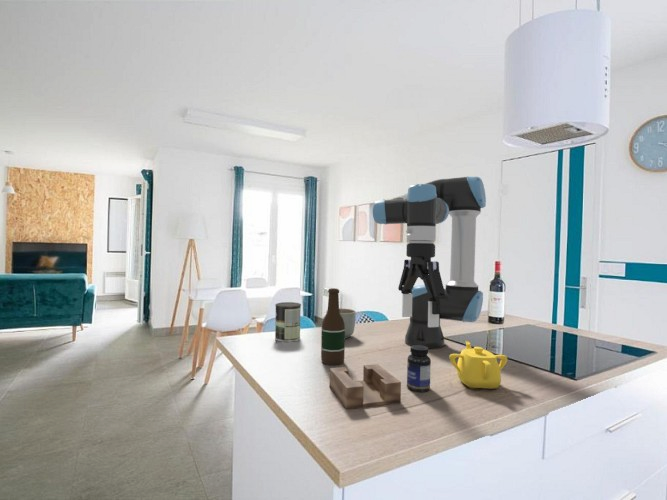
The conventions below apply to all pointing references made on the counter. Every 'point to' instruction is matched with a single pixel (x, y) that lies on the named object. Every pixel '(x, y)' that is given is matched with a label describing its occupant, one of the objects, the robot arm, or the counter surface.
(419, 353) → the pill bottle
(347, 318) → the planter
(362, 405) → the socket
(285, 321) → the coffee can
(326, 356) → the beer bottle
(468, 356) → the teapot
